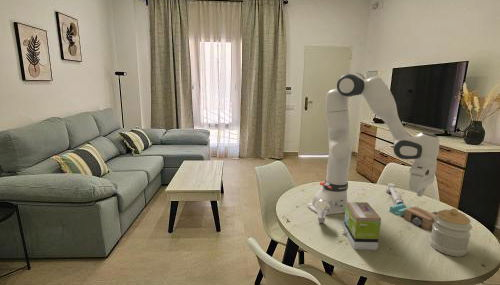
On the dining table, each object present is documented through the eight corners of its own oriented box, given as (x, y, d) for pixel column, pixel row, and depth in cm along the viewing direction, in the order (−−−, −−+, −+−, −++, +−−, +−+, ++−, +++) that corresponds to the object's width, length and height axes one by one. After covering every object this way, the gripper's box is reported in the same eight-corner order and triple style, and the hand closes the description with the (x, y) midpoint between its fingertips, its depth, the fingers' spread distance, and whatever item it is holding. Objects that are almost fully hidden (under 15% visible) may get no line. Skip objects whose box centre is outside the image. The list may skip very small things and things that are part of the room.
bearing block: (427, 230, 131) (429, 219, 130) (404, 219, 141) (405, 209, 140) (438, 226, 135) (439, 216, 133) (414, 216, 145) (415, 206, 144)
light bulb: (320, 227, 132) (322, 204, 129) (310, 221, 138) (312, 198, 135) (331, 224, 135) (333, 201, 132) (321, 218, 141) (323, 195, 138)
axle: (417, 228, 134) (421, 222, 133) (410, 222, 137) (414, 216, 136) (437, 221, 142) (441, 215, 140) (430, 215, 145) (434, 210, 143)
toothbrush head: (395, 201, 154) (386, 180, 177) (393, 211, 156) (384, 189, 179) (406, 202, 153) (395, 181, 176) (404, 212, 155) (393, 190, 178)
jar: (453, 260, 109) (462, 218, 105) (422, 243, 121) (428, 205, 117) (473, 253, 114) (482, 213, 110) (441, 236, 126) (448, 200, 122)
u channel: (400, 216, 144) (401, 211, 144) (389, 211, 150) (389, 206, 149) (412, 212, 149) (413, 207, 148) (401, 207, 154) (402, 203, 154)
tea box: (342, 230, 129) (345, 201, 126) (364, 231, 129) (368, 201, 126) (353, 249, 115) (356, 216, 112) (378, 250, 114) (382, 217, 111)
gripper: (425, 162, 138) (421, 188, 141) (407, 169, 126) (403, 198, 129) (440, 165, 133) (436, 192, 136) (423, 173, 121) (418, 203, 124)
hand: (420, 195), depth 132 cm, fingers closed
